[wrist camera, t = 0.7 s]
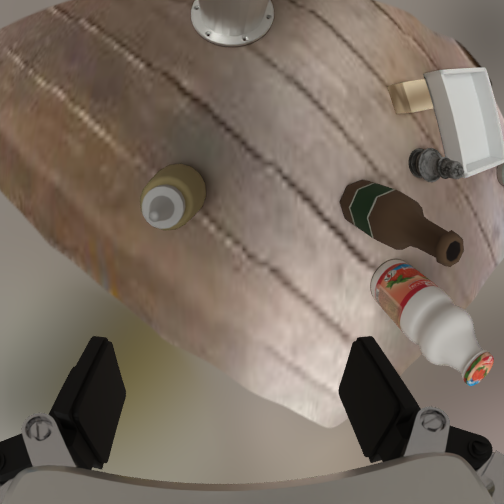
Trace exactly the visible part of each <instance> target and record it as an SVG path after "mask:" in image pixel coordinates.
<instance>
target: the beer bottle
mask: <svg viewBox="0 0 504 504" xmlns="http://www.w3.org/2000/svg"><path fill="white" fill-rule="evenodd" d="M340 204H341V207H342V210H343V214H344V217H345V219H346V220H347V221H349V222H350V223H352V224H353V225H355V226H356V227H358V228H359V229H361V230H362V231H363V232H365V233H366V234H368V235H369V236H371V237H372V238H374V239H376V240H377V241H379V242H381V243H384V244H386V245H388V246H390V247H392V248H394V249H396V250H403V249H405V248H407V247H409V246H412V247H416V248H418V249H420V250H422V251H424V252H426V253H428V254H430V255H432V256H434V257H436V260H437V262H439V263H440V264H442V265H444V266H448V267H451V266H452V265H454V264H456V263H457V262H459V260H460V258H461V255H462V253H463V251H464V247H463V239H462V238H461V237H460V236H459V235H458V234H456V233H455V232H454V231H452V230H451V231H449V232H448V231H446V230H444V229H443V228H441V227H439V226H438V225H436V224H434V223H432V222H431V221H429V220H428V219H426V218H425V217H424V215H423V210H422V207H421V206H420V205H419V203H418V202H416V201H415V200H413V199H411V198H410V197H408V196H407V195H405V194H403V193H401V192H399V191H397V190H395V189H392V188H389V187H386V186H383V185H380V184H376V183H373V182H370V181H366V180H361V181H358V182H356V183H353V184H351V185H348V186H347V187H346V189H345V192H344V194H343V196H342V198H341V201H340Z"/></svg>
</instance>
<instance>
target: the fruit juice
mask: <svg viewBox="0 0 504 504" xmlns="http://www.w3.org/2000/svg"><path fill="white" fill-rule="evenodd" d="M371 292H372V295H373V297H374V299H375V300H376V302H377V303H378V304H379V305H380V306H381V307H382V308H383V310H384V311H385V312H386V313H387V314H388V315H389V316H390V318H391V319H392V320H393V321H394V322H395V323H396V325H397V326H398V327H399V328H400V329H401V331H402V332H403V333H404V334H405V335H406V336H407V337H408V338H409V339H410V340H411V341H412V342H413V343H415V344H417V345H419V347H420V349H421V352H422V354H423V355H424V357H425V358H426V359H427V360H428V361H429V362H431V363H433V364H436V365H448V366H451V367H452V368H454V369H456V370H457V371H459V372H460V373H461V374H462V378H463V380H464V381H465V383H466V384H468V385H469V386H473V385H475V384H477V383H478V382H480V381H481V380H482V379H483V378H484V377H485V376H486V375H487V374H488V372H489V371H490V369H491V367H492V365H493V362H494V358H493V356H492V355H491V354H490V353H489V352H488V351H486V350H483V349H482V348H481V347H480V345H479V343H478V341H477V339H476V336H475V333H474V324H473V320H472V318H471V316H470V315H469V313H468V312H467V311H466V310H465V309H463V308H462V307H460V306H457V305H454V304H453V301H452V300H451V298H450V297H449V296H448V295H447V294H446V293H445V292H444V291H443V290H442V289H441V288H439V287H438V286H437V285H435V284H434V283H433V282H431V281H430V280H429V279H428V278H426V277H425V276H424V275H422V274H421V273H420V272H418V271H417V270H416V269H414V268H413V267H412V266H410V265H409V264H408V263H406V262H404V261H402V260H390V261H388V262H386V263H384V264H383V265H381V266H380V267H379V268H378V269H377V271H376V272H375V274H374V276H373V278H372V281H371Z"/></svg>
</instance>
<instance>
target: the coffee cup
mask: <svg viewBox="0 0 504 504" xmlns="http://www.w3.org/2000/svg"><path fill="white" fill-rule="evenodd" d="M497 178H498V181H499V183H500V184H501V185H503V186H504V163H502V164H500V165H498V168H497Z"/></svg>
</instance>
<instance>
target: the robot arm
mask: <svg viewBox="0 0 504 504" xmlns="http://www.w3.org/2000/svg"><path fill="white" fill-rule="evenodd" d="M196 9H198V10H196ZM267 18H269V19H267ZM273 19H274V8H273V5H272V3H271V1H270V0H195V1H194V3H193V6H192V9H191V20H192V24H193V26H194V29H195V30H196V31H197V33H198V34H199V35H200V36H201V37H203V38H204V39H205V40H207V41H209V42H211V43H214V44H216V45H221V46H228V47H236V46H243V45H247V44H250V43H252V42H255V41H256V40H258V39H260V38H261V37H262V36H263V35H265V34H266V33H267V31H268V30H269V28H270V27H271V25H272V22H273ZM207 35H210V36H207ZM244 39H246V41H243V40H244ZM339 396H340V399H341V401H342V403H343V406H344V408H345V410H346V413H347V415H348V418H349V420H350V422H351V425H352V427H353V430H354V432H355V434H356V437H357V439H358V442H359V444H360V446H361V449H362V451H363V454H364V456H365V457H369V459H370V462H371V463H373V462H376V461H380V460H382V461H383V462H382V463H378V464H374V465H370V466H366V467H361V468H357V469H352V470H348V471H344V472H339V473H334V474H328V475H322V476H316V477H310V478H303V479H295V480H287V481H277V482H264V483H247V484H196V483H179V482H167V481H157V480H149V479H141V478H134V477H127V476H121V475H115V474H109V473H104V472H99V471H94V470H91V469H92V467H94V468H98V469H102V468H103V464H104V463H107V462H108V459H109V455H110V451H111V448H112V444H113V440H114V436H115V432H116V429H117V425H118V421H119V418H120V414H121V411H122V407H123V404H124V401H125V397H126V390H125V387H124V383H123V381H122V377H121V373H120V370H119V367H118V363H117V359H116V356H115V352H114V348H113V344H112V342H109V341H108V339H107V338H105V337H96V336H93V337H92V338H91V340H90V341H89V343H88V345H87V346H86V348H85V350H84V352H83V354H82V356H81V357H80V359H79V361H78V363H77V365H76V366H75V367H73V368H72V370H71V371H70V373H69V375H68V377H67V379H66V381H65V383H64V385H63V387H62V389H61V390H60V392H59V394H58V397H57V399H56V401H55V403H54V405H53V407H52V409H51V411H50V413H49V415H47V414H45V413H36V414H33V415H31V416H29V417H28V418H27V419H26V420H25V421H24V423H23V425H22V434H19V435H17V436H14V437H12V438H9V439H6V440H4V441H1V442H0V504H504V455H503V454H502V453H500V452H498V451H497V450H496V451H495V452H492V445H491V443H490V442H489V440H488V439H486V438H485V437H483V436H481V435H477V434H474V433H471V432H468V431H465V430H462V429H459V428H455V427H453V426H450V420H449V418H448V416H447V414H446V413H445V412H444V411H442V410H441V409H439V408H436V407H425V408H422V409H420V407H419V406H418V404H417V402H416V401H415V399H414V398H413V396H412V394H411V393H410V391H409V390H408V388H407V387H406V385H405V384H404V382H403V381H402V379H401V378H400V376H399V375H398V373H397V372H396V370H395V369H394V367H393V366H392V364H391V363H390V361H389V360H388V358H387V357H386V355H385V354H384V352H383V351H382V349H381V348H380V347H379V345H378V344H377V342H376V341H375V339H374V338H373V337H372V336H368V337H359V338H357V340H356V341H354V342H353V344H352V347H351V350H350V354H349V357H348V361H347V364H346V367H345V370H344V374H343V377H342V380H341V383H340V386H339Z"/></svg>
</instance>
